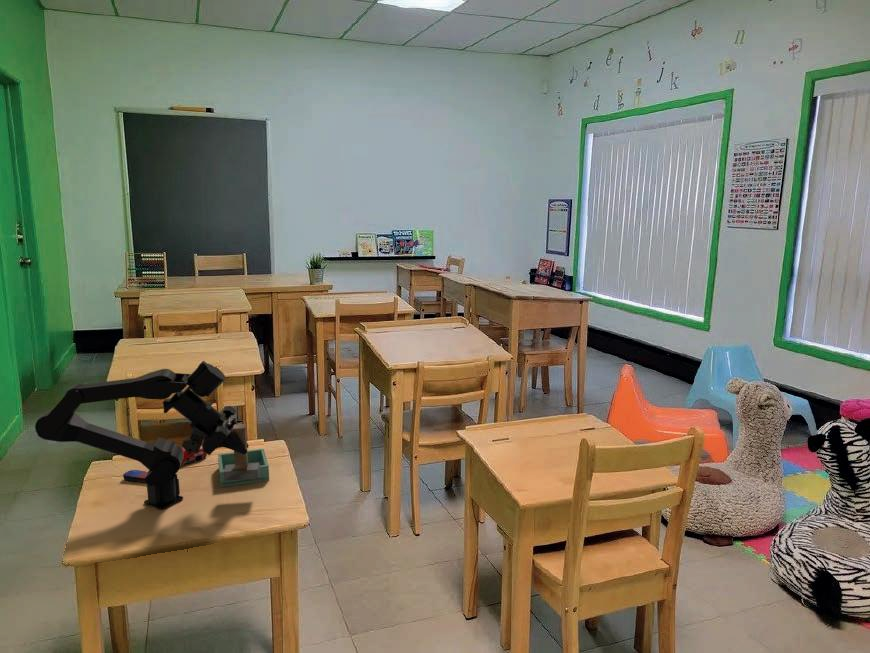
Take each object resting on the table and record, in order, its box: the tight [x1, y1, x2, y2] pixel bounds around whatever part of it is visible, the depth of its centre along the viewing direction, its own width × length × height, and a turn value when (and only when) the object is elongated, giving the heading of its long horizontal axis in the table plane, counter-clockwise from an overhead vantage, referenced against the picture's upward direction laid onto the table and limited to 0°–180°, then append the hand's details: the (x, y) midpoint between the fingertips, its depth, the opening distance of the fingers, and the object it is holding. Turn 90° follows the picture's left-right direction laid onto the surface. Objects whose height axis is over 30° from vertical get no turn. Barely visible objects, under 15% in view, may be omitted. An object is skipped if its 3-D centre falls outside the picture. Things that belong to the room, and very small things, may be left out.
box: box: [217, 448, 270, 488], centre depth 171 cm, size 12×12×4 cm
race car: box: [180, 445, 208, 467], centre depth 177 cm, size 13×5×4 cm, turn 136°
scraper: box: [224, 423, 260, 481], centre depth 157 cm, size 8×4×13 cm, turn 101°
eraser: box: [122, 469, 148, 485], centre depth 167 cm, size 11×4×2 cm, turn 78°
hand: (246, 450), depth 157 cm, fingers closed on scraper, 3 cm apart
